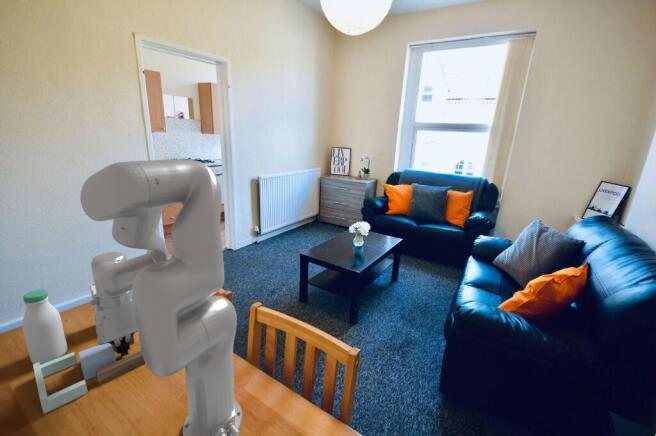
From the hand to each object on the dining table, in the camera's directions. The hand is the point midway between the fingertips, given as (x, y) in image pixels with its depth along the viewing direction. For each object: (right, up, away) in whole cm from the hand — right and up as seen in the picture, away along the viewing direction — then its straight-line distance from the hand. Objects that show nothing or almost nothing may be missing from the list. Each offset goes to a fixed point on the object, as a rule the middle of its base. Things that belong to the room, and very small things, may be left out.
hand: (123, 353), depth 84 cm
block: (-4, -2, -3) cm, 6 cm away
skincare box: (-14, +3, +13) cm, 19 cm away
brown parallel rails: (-1, -2, -1) cm, 2 cm away
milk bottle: (-21, 0, -1) cm, 21 cm away
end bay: (-8, -3, -9) cm, 13 cm away
